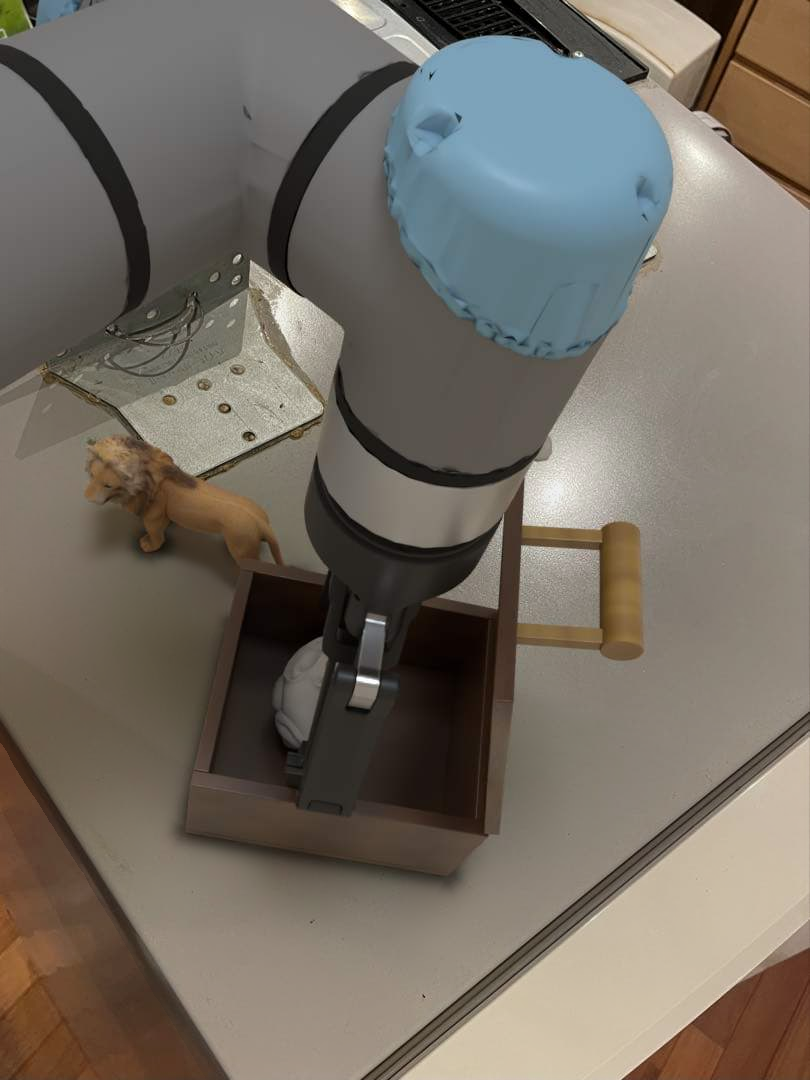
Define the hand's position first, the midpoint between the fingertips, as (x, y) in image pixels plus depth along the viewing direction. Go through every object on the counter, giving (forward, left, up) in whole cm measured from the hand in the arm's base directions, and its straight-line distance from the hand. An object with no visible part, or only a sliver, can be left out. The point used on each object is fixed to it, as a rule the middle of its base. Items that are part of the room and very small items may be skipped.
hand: (326, 696), depth 55 cm
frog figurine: (0, +1, -6) cm, 7 cm away
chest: (+2, 0, -7) cm, 7 cm away
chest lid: (+7, 0, +10) cm, 12 cm away
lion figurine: (-10, +12, -7) cm, 17 cm away
